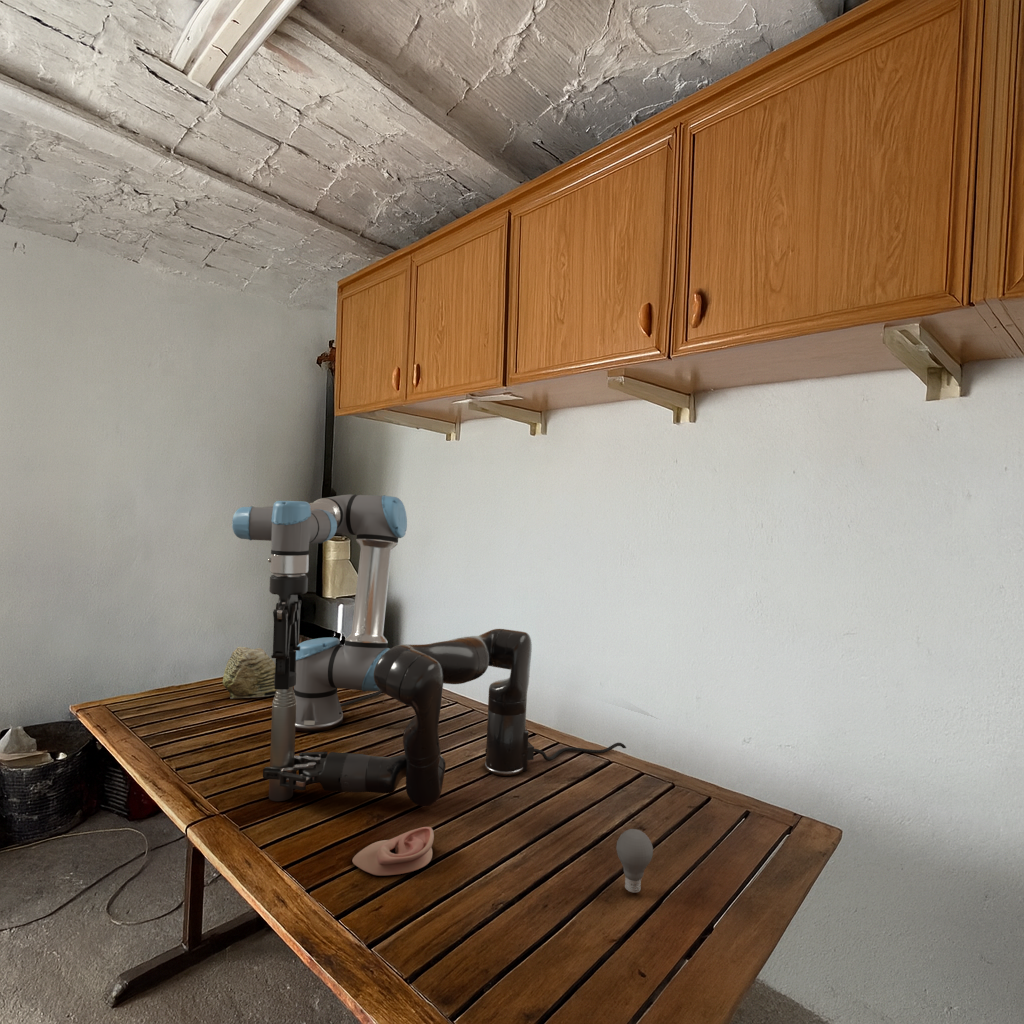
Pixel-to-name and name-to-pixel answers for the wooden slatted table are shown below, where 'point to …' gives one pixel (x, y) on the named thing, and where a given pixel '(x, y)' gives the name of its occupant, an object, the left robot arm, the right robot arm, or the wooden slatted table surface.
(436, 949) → the wooden slatted table surface
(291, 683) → the cap
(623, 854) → the light bulb
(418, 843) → the anatomical model
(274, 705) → the bottle
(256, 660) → the fossil
